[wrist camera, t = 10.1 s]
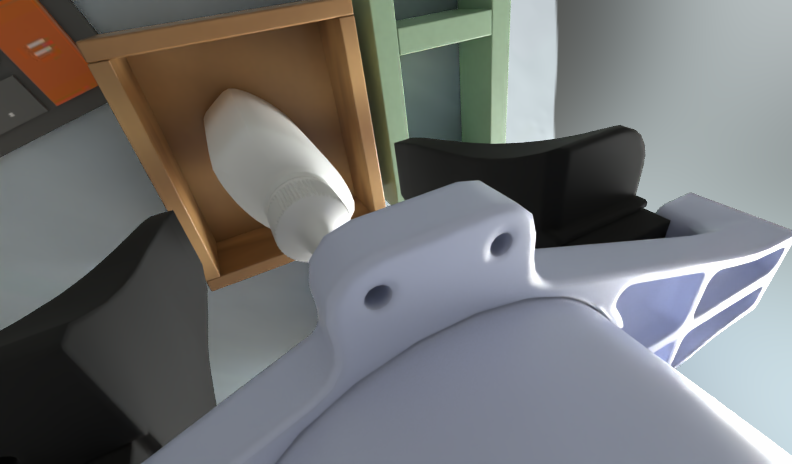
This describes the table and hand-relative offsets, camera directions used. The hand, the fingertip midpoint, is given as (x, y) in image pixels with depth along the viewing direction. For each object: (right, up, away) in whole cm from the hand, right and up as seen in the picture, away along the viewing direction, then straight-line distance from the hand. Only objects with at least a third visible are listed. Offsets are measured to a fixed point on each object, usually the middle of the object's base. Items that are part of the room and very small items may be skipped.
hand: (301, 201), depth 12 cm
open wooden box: (-4, +4, +8) cm, 10 cm away
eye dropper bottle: (-4, +4, +8) cm, 10 cm away
